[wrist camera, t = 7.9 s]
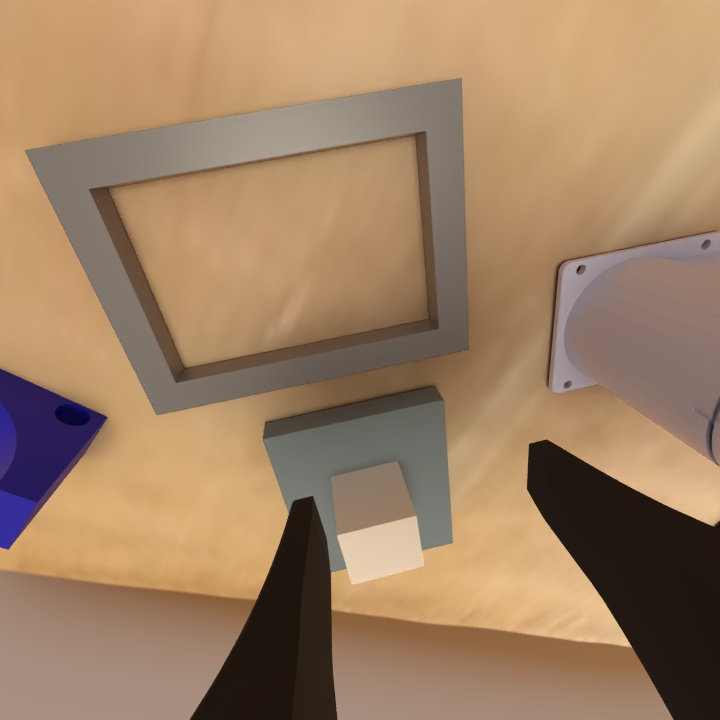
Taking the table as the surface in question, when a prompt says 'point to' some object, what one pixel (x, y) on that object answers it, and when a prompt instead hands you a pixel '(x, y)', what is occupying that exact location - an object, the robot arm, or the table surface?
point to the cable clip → (36, 448)
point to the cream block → (376, 522)
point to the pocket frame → (251, 145)
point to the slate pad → (367, 457)
